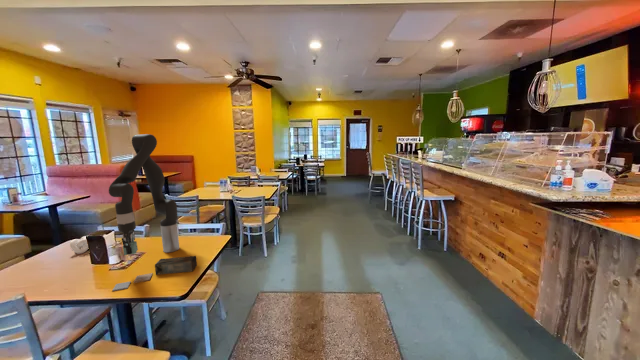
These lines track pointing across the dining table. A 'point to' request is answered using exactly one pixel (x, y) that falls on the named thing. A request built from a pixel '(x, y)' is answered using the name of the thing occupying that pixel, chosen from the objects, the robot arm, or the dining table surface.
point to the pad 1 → (121, 286)
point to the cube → (133, 247)
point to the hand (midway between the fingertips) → (130, 251)
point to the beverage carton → (175, 265)
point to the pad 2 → (143, 278)
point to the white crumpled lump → (79, 245)
